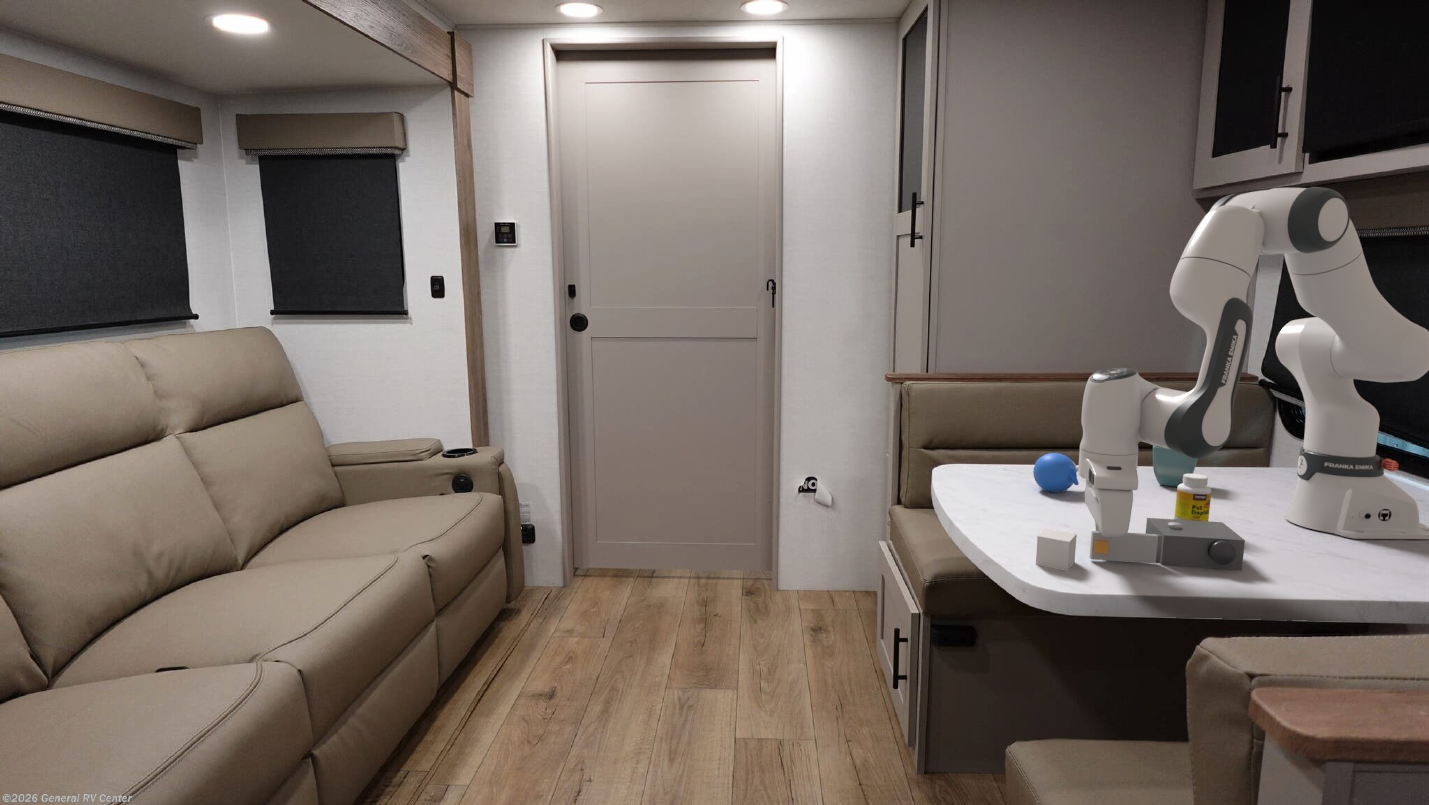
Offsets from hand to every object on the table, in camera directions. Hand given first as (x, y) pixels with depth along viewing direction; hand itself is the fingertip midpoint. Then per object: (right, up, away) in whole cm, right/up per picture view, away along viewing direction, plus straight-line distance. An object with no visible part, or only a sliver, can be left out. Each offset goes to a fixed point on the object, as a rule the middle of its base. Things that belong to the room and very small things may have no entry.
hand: (1102, 546), depth 145 cm
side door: (+2, -2, -3) cm, 4 cm away
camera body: (+15, -2, 0) cm, 15 cm away
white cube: (-9, -3, -3) cm, 10 cm away
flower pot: (+37, +6, +48) cm, 61 cm away
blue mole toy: (+10, +5, +43) cm, 44 cm away
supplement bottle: (+23, 0, +16) cm, 28 cm away
